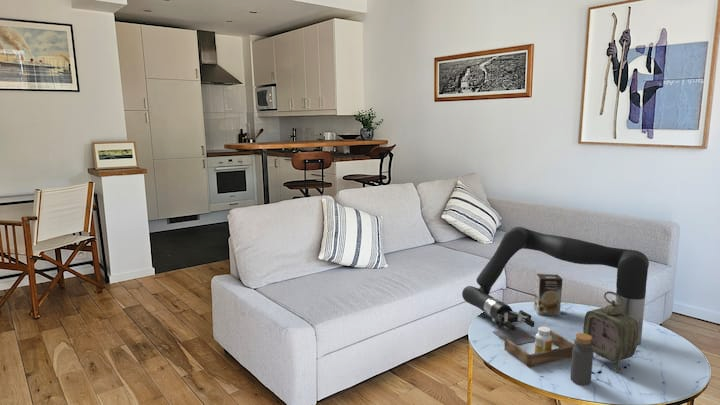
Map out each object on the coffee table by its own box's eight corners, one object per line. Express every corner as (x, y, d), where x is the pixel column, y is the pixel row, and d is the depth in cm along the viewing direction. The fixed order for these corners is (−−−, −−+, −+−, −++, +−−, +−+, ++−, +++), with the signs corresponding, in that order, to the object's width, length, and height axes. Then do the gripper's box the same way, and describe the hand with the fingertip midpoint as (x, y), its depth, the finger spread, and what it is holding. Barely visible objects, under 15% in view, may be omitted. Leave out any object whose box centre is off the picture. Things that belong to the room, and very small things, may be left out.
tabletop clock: (581, 355, 161) (586, 287, 157) (599, 350, 165) (605, 283, 160) (618, 376, 148) (625, 302, 144) (638, 369, 152) (645, 297, 147)
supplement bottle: (550, 352, 164) (552, 326, 162) (551, 359, 159) (553, 333, 157) (534, 350, 166) (535, 324, 164) (534, 357, 161) (536, 331, 159)
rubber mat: (492, 332, 180) (492, 331, 180) (518, 327, 184) (518, 326, 184) (512, 346, 169) (512, 345, 169) (538, 340, 173) (539, 339, 173)
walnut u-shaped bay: (504, 349, 166) (504, 339, 166) (549, 339, 173) (550, 329, 172) (528, 367, 154) (529, 356, 154) (576, 356, 161) (577, 345, 160)
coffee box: (537, 315, 194) (539, 278, 191) (533, 309, 200) (535, 273, 198) (560, 315, 193) (562, 279, 190) (555, 309, 200) (557, 273, 197)
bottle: (566, 375, 149) (569, 332, 146) (584, 374, 150) (587, 331, 147) (576, 386, 143) (579, 341, 141) (594, 385, 144) (598, 340, 141)
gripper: (482, 303, 183) (508, 320, 168) (512, 298, 187) (540, 314, 172) (481, 321, 184) (507, 339, 169) (511, 316, 189) (539, 332, 174)
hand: (524, 326), depth 171 cm, fingers open, 8 cm apart
